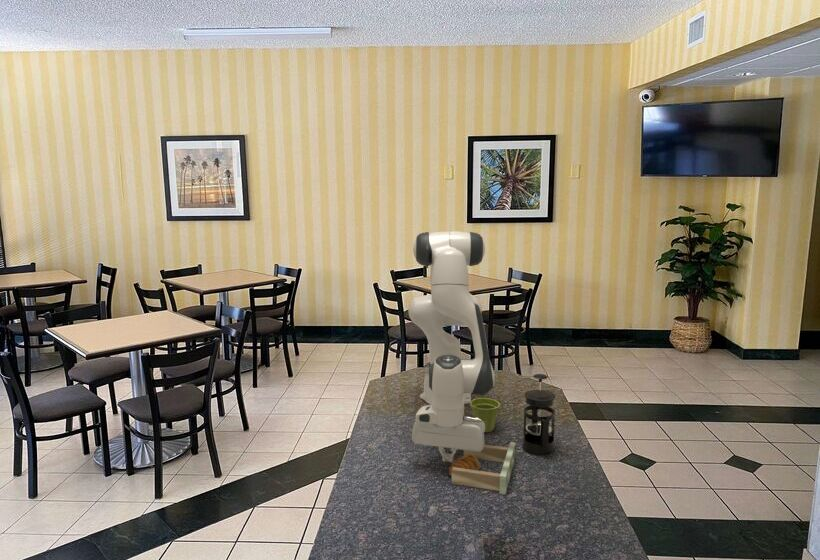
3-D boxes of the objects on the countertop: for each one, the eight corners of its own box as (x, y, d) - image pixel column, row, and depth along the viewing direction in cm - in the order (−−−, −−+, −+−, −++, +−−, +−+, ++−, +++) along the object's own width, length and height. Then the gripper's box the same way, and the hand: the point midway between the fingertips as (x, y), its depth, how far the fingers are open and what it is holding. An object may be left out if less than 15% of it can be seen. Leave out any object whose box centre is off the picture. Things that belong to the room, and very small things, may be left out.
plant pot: (493, 421, 198) (493, 396, 196) (503, 433, 188) (504, 407, 187) (466, 424, 196) (466, 399, 194) (475, 436, 187) (475, 410, 185)
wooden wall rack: (465, 452, 176) (465, 436, 175) (515, 458, 172) (515, 442, 171) (450, 486, 157) (450, 469, 156) (505, 494, 153) (505, 476, 152)
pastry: (461, 482, 159) (461, 469, 158) (442, 474, 164) (442, 461, 163) (482, 469, 166) (482, 456, 165) (463, 462, 170) (463, 449, 170)
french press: (517, 441, 183) (519, 369, 179) (547, 439, 184) (550, 368, 179) (529, 459, 171) (531, 383, 167) (560, 457, 172) (563, 382, 168)
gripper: (487, 414, 164) (486, 460, 167) (416, 406, 170) (416, 451, 173) (483, 423, 158) (482, 471, 161) (409, 414, 164) (410, 461, 167)
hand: (448, 461), depth 167 cm, fingers closed
